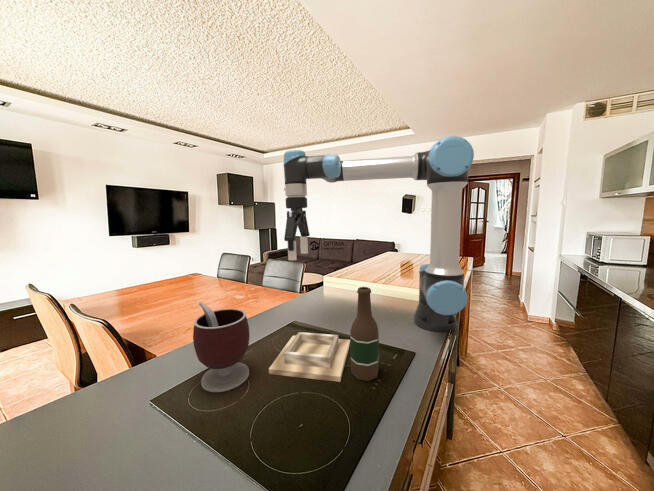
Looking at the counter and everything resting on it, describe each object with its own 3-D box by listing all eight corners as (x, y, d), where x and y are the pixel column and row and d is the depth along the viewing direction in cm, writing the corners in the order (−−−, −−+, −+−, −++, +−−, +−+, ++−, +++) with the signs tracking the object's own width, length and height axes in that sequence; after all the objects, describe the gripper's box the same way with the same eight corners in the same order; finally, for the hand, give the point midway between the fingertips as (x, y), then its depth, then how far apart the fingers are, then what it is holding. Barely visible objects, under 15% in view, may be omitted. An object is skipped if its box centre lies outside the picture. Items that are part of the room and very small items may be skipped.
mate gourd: (262, 370, 76) (258, 302, 73) (221, 401, 64) (214, 321, 61) (226, 356, 83) (220, 294, 81) (183, 381, 72) (175, 310, 69)
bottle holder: (350, 343, 89) (349, 331, 88) (340, 381, 70) (339, 365, 69) (293, 339, 93) (292, 327, 93) (269, 373, 74) (268, 358, 73)
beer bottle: (360, 361, 79) (359, 282, 75) (384, 371, 74) (384, 286, 71) (345, 374, 73) (343, 289, 69) (370, 385, 68) (369, 294, 65)
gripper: (297, 198, 107) (299, 250, 110) (271, 195, 83) (275, 263, 85) (315, 197, 105) (317, 251, 108) (294, 195, 81) (297, 263, 84)
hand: (298, 256), depth 97 cm, fingers open, 13 cm apart
